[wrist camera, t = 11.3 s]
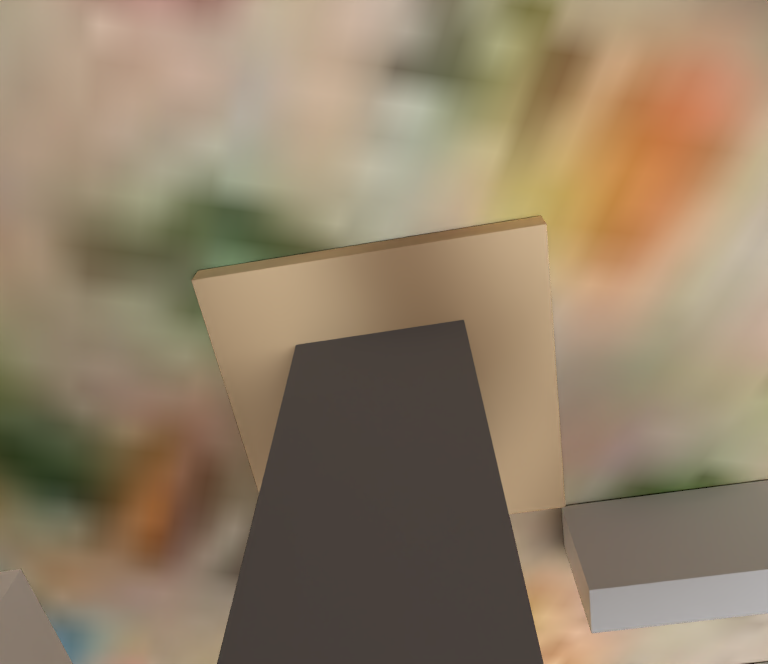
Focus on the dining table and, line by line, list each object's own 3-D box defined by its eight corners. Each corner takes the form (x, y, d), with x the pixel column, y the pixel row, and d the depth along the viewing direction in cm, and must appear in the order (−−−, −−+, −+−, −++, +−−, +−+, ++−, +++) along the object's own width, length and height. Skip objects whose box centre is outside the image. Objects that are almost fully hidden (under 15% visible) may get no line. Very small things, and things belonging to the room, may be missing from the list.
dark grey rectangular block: (329, 478, 18) (209, 1553, 6) (295, 345, 17) (16, 1479, 4) (482, 457, 18) (701, 1547, 5) (464, 319, 16) (728, 1460, 4)
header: (575, 712, 23) (600, 806, 21) (561, 506, 19) (589, 590, 17) (885, 679, 23) (952, 773, 20) (936, 458, 19) (1028, 538, 16)
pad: (277, 529, 20) (274, 544, 19) (198, 270, 16) (191, 280, 16) (560, 492, 19) (565, 507, 19) (541, 215, 16) (546, 223, 15)
